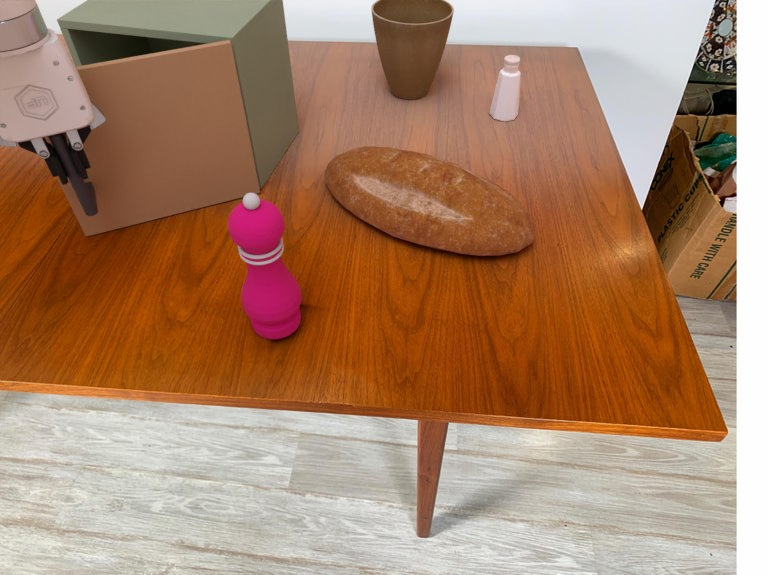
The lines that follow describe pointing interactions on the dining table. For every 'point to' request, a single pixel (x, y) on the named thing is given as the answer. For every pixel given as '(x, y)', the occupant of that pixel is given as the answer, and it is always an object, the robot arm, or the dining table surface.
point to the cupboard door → (160, 138)
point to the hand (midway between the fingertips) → (74, 175)
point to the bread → (429, 201)
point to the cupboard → (197, 27)
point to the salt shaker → (507, 91)
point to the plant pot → (411, 42)
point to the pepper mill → (265, 268)
